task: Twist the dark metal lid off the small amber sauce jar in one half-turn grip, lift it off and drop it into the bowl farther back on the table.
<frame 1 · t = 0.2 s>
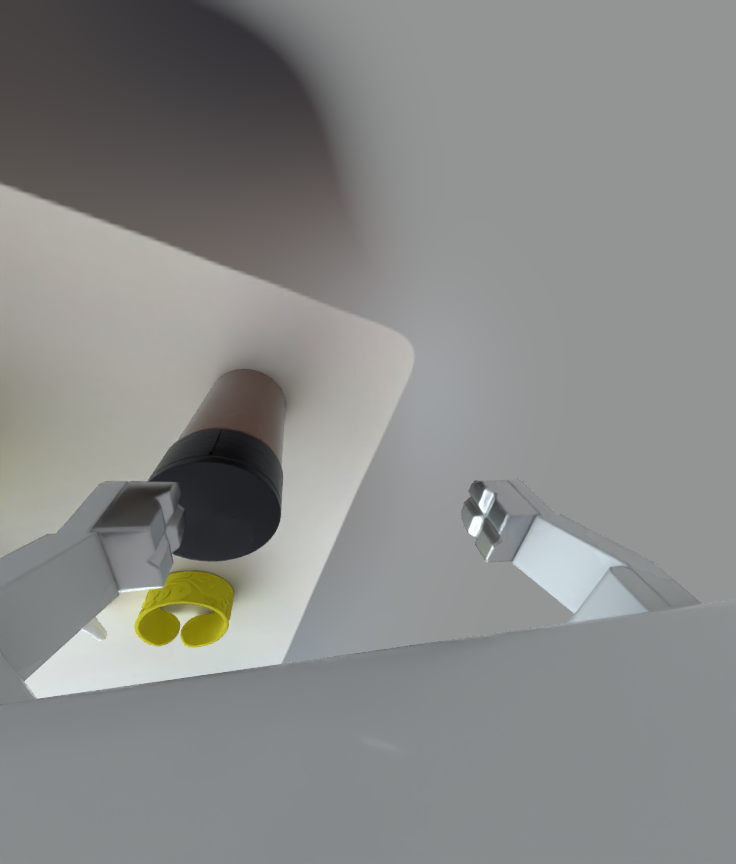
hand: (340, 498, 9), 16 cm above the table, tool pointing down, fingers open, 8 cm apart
bracelet: (193, 593, 32), on the table
jar: (248, 403, 24), on the table
lid: (214, 510, 14), point 12 cm above the table, screwed on, not yet turned
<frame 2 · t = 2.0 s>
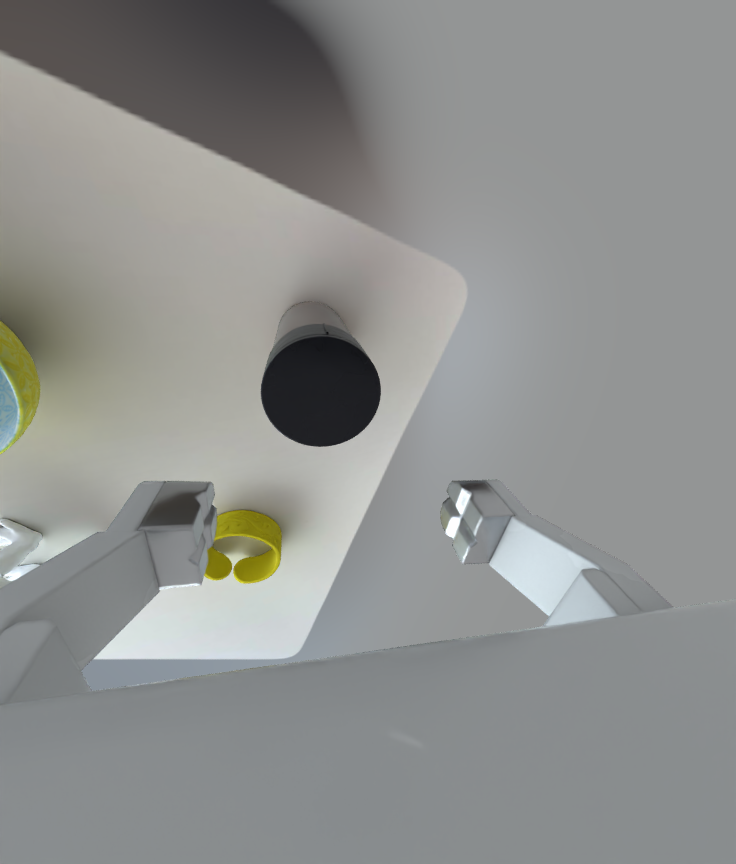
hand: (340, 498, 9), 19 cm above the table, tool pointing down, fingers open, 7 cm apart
bracelet: (244, 534, 34), on the table
jar: (312, 337, 25), on the table
lid: (322, 393, 15), point 12 cm above the table, screwed on, not yet turned
dinosaur figurine: (59, 550, 30), on the table
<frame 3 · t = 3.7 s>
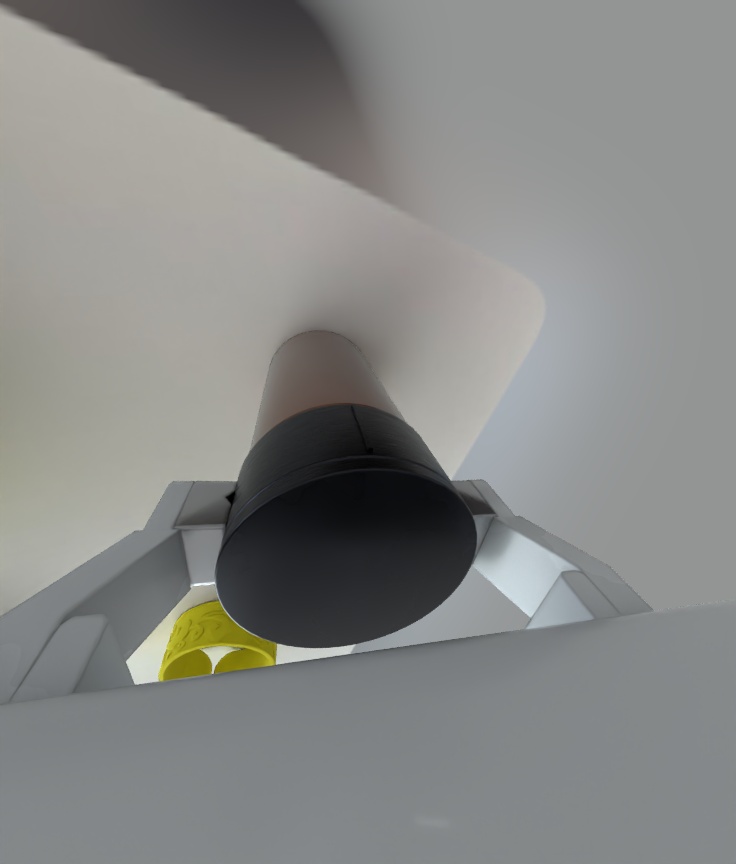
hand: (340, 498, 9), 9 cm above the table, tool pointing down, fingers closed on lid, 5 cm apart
bracelet: (227, 625, 26), on the table
jar: (320, 381, 17), on the table
lid: (353, 560, 7), point 12 cm above the table, screwed on, not yet turned, touching gripper
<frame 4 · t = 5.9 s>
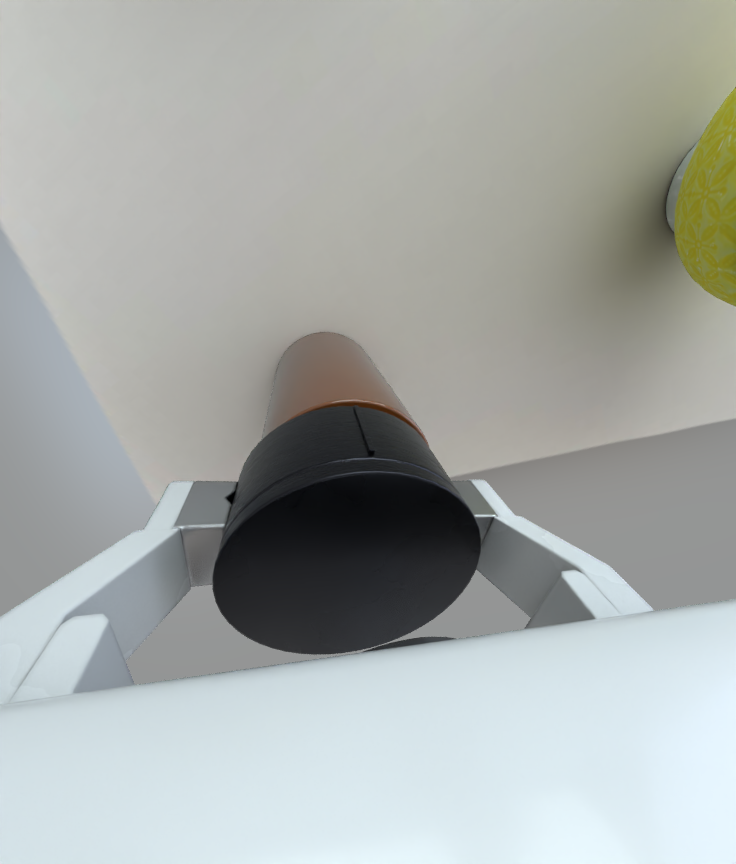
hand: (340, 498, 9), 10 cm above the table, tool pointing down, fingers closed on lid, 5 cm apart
bowl: (701, 183, 16), on the table
jar: (326, 382, 17), on the table
lid: (354, 564, 7), point 12 cm above the table, off its thread, touching gripper
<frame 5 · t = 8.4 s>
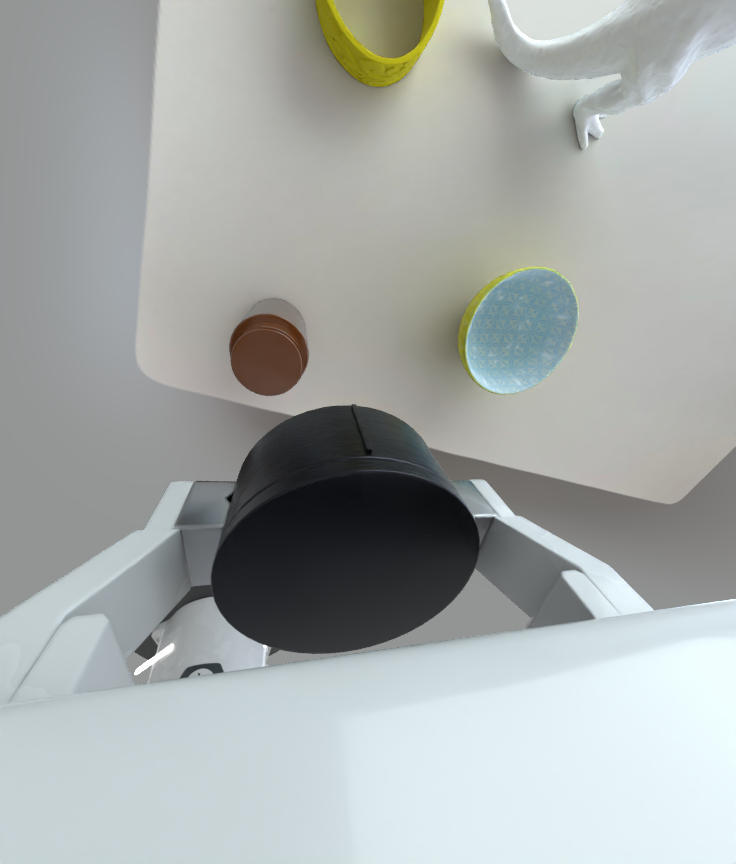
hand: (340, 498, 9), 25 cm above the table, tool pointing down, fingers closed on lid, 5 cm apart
bracelet: (373, 8, 21), on the table
bowl: (486, 324, 34), on the table
jar: (276, 328, 30), on the table
lid: (352, 564, 7), point 27 cm above the table, off its thread, touching gripper
dinosaur figurine: (578, 68, 25), on the table
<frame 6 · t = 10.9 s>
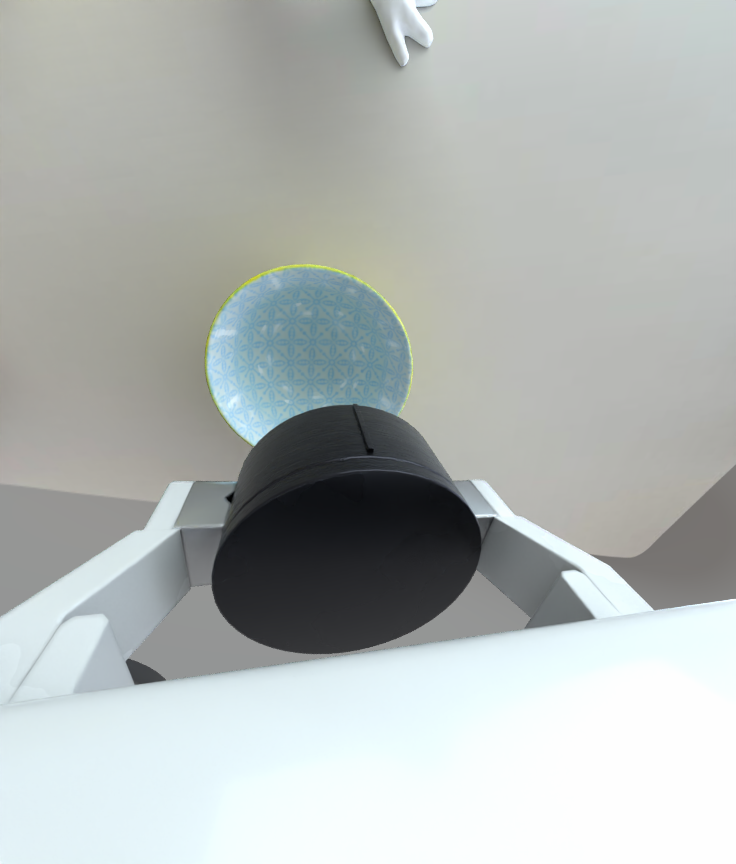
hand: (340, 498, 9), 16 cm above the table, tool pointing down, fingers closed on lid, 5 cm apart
bowl: (311, 350, 23), on the table
lid: (353, 564, 7), point 18 cm above the table, off its thread, touching gripper
when the fingers open (8 cm above the table, at t = 13.2 s): lid drops 2 cm, resting on bowl.
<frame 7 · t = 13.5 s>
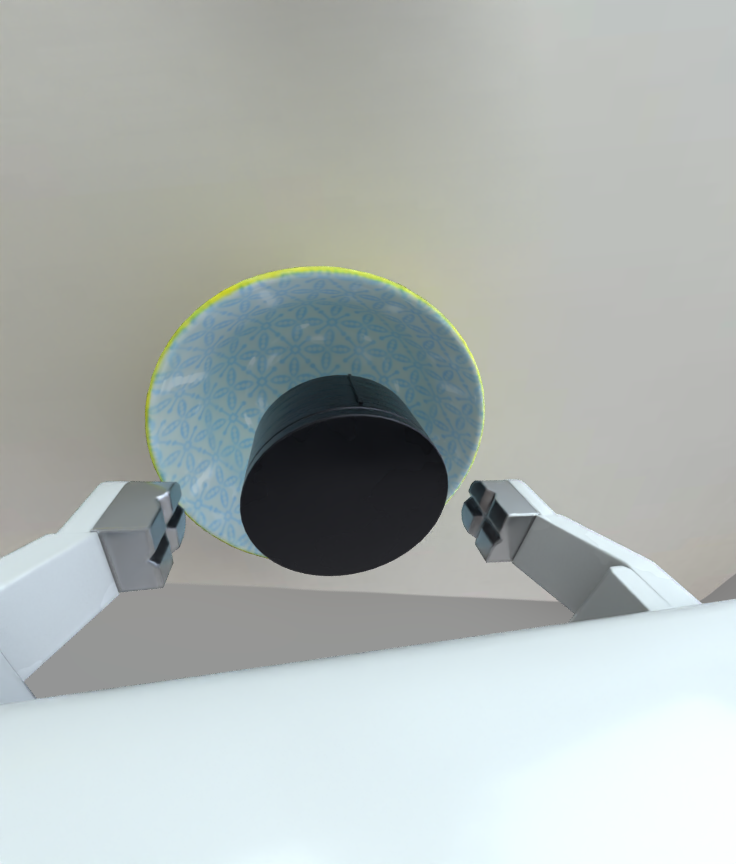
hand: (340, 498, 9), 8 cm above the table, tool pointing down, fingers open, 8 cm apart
bowl: (321, 385, 16), on the table, touching lid
lid: (348, 498, 9), point 9 cm above the table, off its thread, touching bowl
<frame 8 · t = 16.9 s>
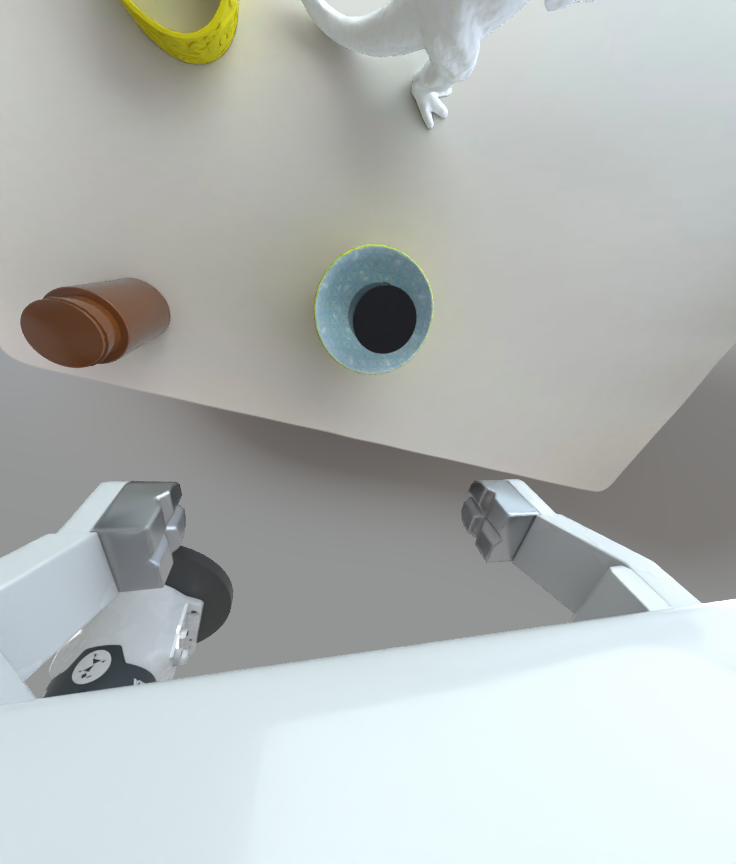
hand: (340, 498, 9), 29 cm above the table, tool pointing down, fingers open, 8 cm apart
bowl: (363, 306, 34), on the table, touching lid
jar: (138, 309, 30), on the table
lid: (384, 320, 27), point 9 cm above the table, off its thread, touching bowl
dinosaur figurine: (410, 46, 25), on the table
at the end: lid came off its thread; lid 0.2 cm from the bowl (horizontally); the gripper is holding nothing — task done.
